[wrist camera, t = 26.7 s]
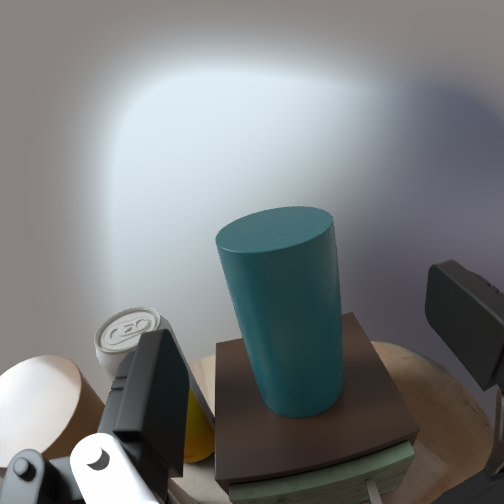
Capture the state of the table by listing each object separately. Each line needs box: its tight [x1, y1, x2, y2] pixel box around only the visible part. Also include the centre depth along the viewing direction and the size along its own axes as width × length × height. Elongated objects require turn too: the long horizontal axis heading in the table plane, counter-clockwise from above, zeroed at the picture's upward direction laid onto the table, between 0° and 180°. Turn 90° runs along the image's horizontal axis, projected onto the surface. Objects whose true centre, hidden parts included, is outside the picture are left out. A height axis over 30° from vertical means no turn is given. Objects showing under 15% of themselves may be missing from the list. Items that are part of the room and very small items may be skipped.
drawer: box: [229, 440, 415, 504], centre depth 18 cm, size 17×11×7 cm
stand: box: [0, 355, 199, 504], centre depth 13 cm, size 8×8×18 cm
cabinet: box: [215, 312, 419, 496], centre depth 22 cm, size 14×13×9 cm
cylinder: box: [216, 206, 344, 418], centre depth 18 cm, size 6×6×12 cm
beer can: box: [94, 307, 215, 463], centre depth 23 cm, size 6×6×15 cm
